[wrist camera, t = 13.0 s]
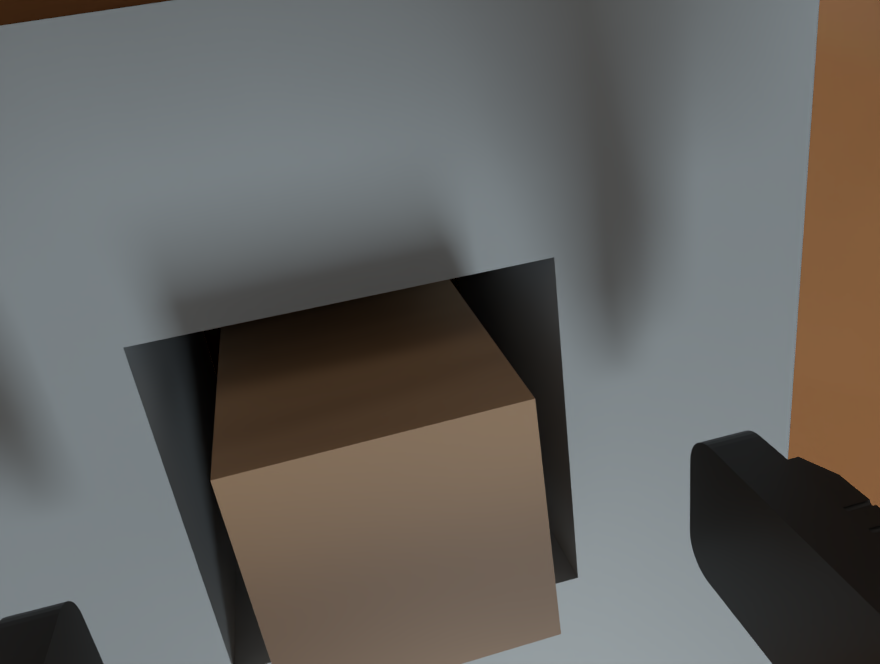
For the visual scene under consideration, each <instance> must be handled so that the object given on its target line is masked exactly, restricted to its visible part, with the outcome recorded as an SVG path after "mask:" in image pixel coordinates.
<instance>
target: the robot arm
mask: <svg viewBox="0 0 880 664" xmlns="http://www.w3.org/2000/svg"><path fill="white" fill-rule="evenodd" d="M690 539H691V545H692V549H693V553H694V556H695V558H696V561H697V563H698V566H699V568H700V570H701V572H702V574H703V575H704V577H705V578H706V580H707V581H708V583H709V584H710V585H711V586H712V588H713V589H714V590H715V591H716V593H717V594H718V595H719V597H720V598H721V599H722V600H723V602H724V603H725V604H726V606H727V607H728V608H729V609H730V611H731V612H732V613H733V614H734V616H735V617H736V618H737V620H738V621H739V622H740V623H741V625H742V626H743V627H744V628H745V630H746V631H747V632H748V634H749V635H750V636H751V637H752V639H753V640H754V641H755V642H756V644H757V645H758V646H759V648H760V649H761V650H762V651H763V653H764V654H765V655H766V657H767V658H768V659H769V660H770V662H771V663H772V664H880V508H879V507H878V506H877V505H874V506H872V505H871V503H870V500H869V499H868V498H867V497H866V496H864V495H863V494H862V493H861V492H860V491H858V490H857V489H856V488H855V487H853V486H852V485H851V484H850V483H849V482H847V481H846V480H845V479H844V478H842V477H841V476H840V475H838V474H836V473H834V472H832V471H829V470H827V469H825V468H823V467H820V466H818V465H816V464H814V463H811V462H809V461H807V460H804V459H802V458H800V457H796V458H792V459H789V460H787V459H786V458H785V457H784V456H783V455H782V454H781V453H779V452H778V451H777V450H776V449H775V448H774V447H772V446H771V445H770V444H769V443H768V442H767V441H765V440H764V439H763V438H762V437H761V436H760V435H758V434H757V433H755V432H753V431H749V430H747V431H742V432H738V433H734V434H730V435H727V436H723V437H719V438H715V439H711V440H707V441H703V442H699V443H696V444H695V445H694V446H693V448H692V450H691V455H690ZM0 664H104V663H103V661H102V659H101V656H100V654H99V652H98V650H97V647H96V645H95V643H94V640H93V638H92V636H91V634H90V631H89V629H88V627H87V624H86V622H85V620H84V618H83V615H82V613H81V611H80V609H79V608H78V606H77V605H76V604H75V603H73V602H72V601H66V602H63V603H59V604H55V605H51V606H47V607H43V608H39V609H35V610H31V611H27V612H23V613H19V614H15V615H11V616H7V617H4V618H2V619H1V620H0Z"/></svg>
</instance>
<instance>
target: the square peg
mask: <svg viewBox="0 0 880 664" xmlns="http://www.w3.org/2000/svg"><path fill="white" fill-rule="evenodd" d="M210 481H211V484H212V487H213V490H214V493H215V496H216V499H217V502H218V505H219V508H220V511H221V514H222V517H223V520H224V523H225V526H226V529H227V532H228V535H229V538H230V541H231V544H232V547H233V550H234V553H235V556H236V559H237V562H238V565H239V568H240V571H241V574H242V577H243V580H244V583H245V586H246V589H247V592H248V595H249V598H250V601H251V604H252V607H253V610H254V613H255V616H256V619H257V622H258V625H259V628H260V631H261V634H262V637H263V640H264V643H265V646H266V649H267V652H268V655H269V658H270V661H271V664H463V663H466V662H470V661H473V660H476V659H480V658H483V657H486V656H490V655H493V654H496V653H500V652H503V651H506V650H510V649H513V648H516V647H520V646H523V645H526V644H530V643H533V642H536V641H540V640H543V639H546V638H550V637H553V636H556V635H560V634H561V628H560V619H559V610H558V601H557V592H556V583H555V574H554V565H553V556H552V547H551V537H550V528H549V519H548V510H547V501H546V492H545V483H544V474H543V465H542V456H541V447H540V438H539V429H538V420H537V411H536V402H535V398H534V396H533V395H532V394H531V392H530V391H529V389H528V388H527V387H526V385H525V384H524V382H523V381H522V380H521V378H520V377H519V375H518V374H517V373H516V371H515V370H514V368H513V367H512V366H511V364H510V363H509V362H508V360H507V359H506V357H505V356H504V355H503V353H502V352H501V350H500V349H499V348H498V346H497V345H496V343H495V342H494V341H493V339H492V338H491V337H490V335H489V334H488V332H487V331H486V330H485V328H484V327H483V325H482V324H481V323H480V321H479V320H478V318H477V317H476V316H475V314H474V313H473V311H472V310H471V309H470V307H469V306H468V305H467V303H466V302H465V300H464V299H463V298H462V296H461V295H460V293H459V292H458V291H457V289H456V288H455V286H454V285H453V284H452V282H451V281H450V279H448V280H443V281H439V282H434V283H429V284H424V285H419V286H415V287H410V288H405V289H400V290H396V291H391V292H386V293H381V294H377V295H372V296H367V297H362V298H357V299H353V300H348V301H343V302H338V303H334V304H329V305H324V306H319V307H315V308H310V309H305V310H300V311H296V312H291V313H286V314H281V315H276V316H272V317H267V318H262V319H257V320H253V321H248V322H243V323H238V324H234V325H229V326H224V327H221V333H220V347H219V362H218V377H217V391H216V406H215V420H214V435H213V450H212V464H211V479H210Z"/></svg>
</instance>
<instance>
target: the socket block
mask: <svg viewBox="0 0 880 664" xmlns="http://www.w3.org/2000/svg"><path fill="white" fill-rule="evenodd" d="M818 13H819V0H172V1H165V2H158V3H151V4H144V5H138V6H131V7H124V8H117V9H110V10H103V11H97V12H90V13H83V14H76V15H69V16H63V17H56V18H49V19H42V20H35V21H28V22H22V23H15V24H8V25H1V26H0V620H1V619H2V618H4V617H7V616H11V615H15V614H19V613H23V612H27V611H31V610H35V609H39V608H43V607H47V606H51V605H55V604H59V603H63V602H66V601H72V602H73V603H75V604H76V605H77V606H78V608H79V609H80V611H81V613H82V615H83V618H84V620H85V622H86V624H87V627H88V629H89V631H90V634H91V636H92V638H93V640H94V643H95V645H96V647H97V650H98V652H99V654H100V656H101V659H102V661H103V663H104V664H271V661H270V658H269V655H268V652H267V649H266V646H265V643H264V640H263V637H262V634H261V631H260V628H259V625H258V622H257V619H256V616H255V613H254V610H253V607H252V604H251V601H250V598H249V595H248V592H247V589H246V586H245V583H244V580H243V577H242V574H241V571H240V568H239V565H238V562H237V559H236V556H235V553H234V550H233V547H232V544H231V541H230V538H229V535H228V532H227V529H226V526H225V523H224V520H223V517H222V514H221V511H220V508H219V505H218V502H217V499H216V496H215V493H214V490H213V487H212V484H211V481H210V479H211V464H212V450H213V435H214V420H215V406H216V391H217V376H216V372H215V369H214V365H213V362H212V358H211V355H210V351H209V348H208V344H207V341H206V338H205V334H204V331H205V330H210V329H214V328H219V327H224V326H229V325H234V324H238V323H243V322H248V321H253V320H257V319H262V318H267V317H272V316H276V315H281V314H286V313H291V312H296V311H300V310H305V309H310V308H315V307H319V306H324V305H329V304H334V303H338V302H343V301H348V300H353V299H357V298H362V297H367V296H372V295H377V294H381V293H386V292H391V291H396V290H400V289H405V288H410V287H415V286H419V285H424V284H429V283H434V282H439V281H443V280H448V279H453V278H458V279H459V286H460V294H461V296H462V298H463V299H464V300H465V302H466V303H467V305H468V306H469V307H470V309H471V310H472V311H473V313H474V314H475V316H476V317H477V318H478V320H479V321H480V323H481V324H482V325H483V327H484V328H485V330H486V331H487V332H488V334H489V335H490V337H491V338H492V339H493V341H494V342H495V343H496V345H497V346H498V348H499V349H500V350H501V352H502V353H503V355H504V356H505V357H506V359H507V360H508V362H509V363H510V364H511V366H512V367H513V368H514V370H515V371H516V373H517V374H518V375H519V377H520V378H521V380H522V381H523V382H524V384H525V385H526V387H527V388H528V389H529V391H530V392H531V394H532V395H533V396H534V398H535V402H536V411H537V420H538V429H539V438H540V447H541V456H542V465H543V474H544V483H545V492H546V501H547V510H548V519H549V528H550V537H551V547H552V556H553V565H554V574H555V583H556V592H557V601H558V610H559V619H560V628H561V634H560V635H556V636H553V637H550V638H546V639H543V640H540V641H536V642H533V643H530V644H526V645H523V646H520V647H516V648H513V649H510V650H506V651H503V652H500V653H496V654H493V655H490V656H486V657H483V658H480V659H476V660H473V661H470V662H466V663H463V664H772V663H771V662H770V660H769V659H768V658H767V657H766V655H765V654H764V653H763V651H762V650H761V649H760V648H759V646H758V645H757V644H756V642H755V641H754V640H753V639H752V637H751V636H750V635H749V634H748V632H747V631H746V630H745V628H744V627H743V626H742V625H741V623H740V622H739V621H738V620H737V618H736V617H735V616H734V614H733V613H732V612H731V611H730V609H729V608H728V607H727V606H726V604H725V603H724V602H723V600H722V599H721V598H720V597H719V595H718V594H717V593H716V591H715V590H714V589H713V588H712V586H711V585H710V584H709V583H708V581H707V580H706V578H705V577H704V575H703V574H702V572H701V570H700V568H699V566H698V563H697V561H696V558H695V556H694V553H693V549H692V545H691V539H690V455H691V450H692V448H693V446H694V445H695V444H696V443H699V442H703V441H707V440H711V439H715V438H719V437H723V436H727V435H730V434H734V433H738V432H742V431H747V430H749V431H753V432H755V433H757V434H758V435H760V436H761V437H762V438H763V439H764V440H765V441H767V442H768V443H769V444H770V445H771V446H772V447H774V448H775V449H776V450H777V451H778V452H779V453H781V454H782V455H783V456H784V457H785V458H786V459H787V460H788V448H789V433H790V419H791V404H792V390H793V375H794V361H795V346H796V332H797V317H798V303H799V288H800V274H801V259H802V245H803V230H804V216H805V201H806V187H807V172H808V158H809V143H810V129H811V114H812V100H813V85H814V71H815V56H816V42H817V27H818Z"/></svg>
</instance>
